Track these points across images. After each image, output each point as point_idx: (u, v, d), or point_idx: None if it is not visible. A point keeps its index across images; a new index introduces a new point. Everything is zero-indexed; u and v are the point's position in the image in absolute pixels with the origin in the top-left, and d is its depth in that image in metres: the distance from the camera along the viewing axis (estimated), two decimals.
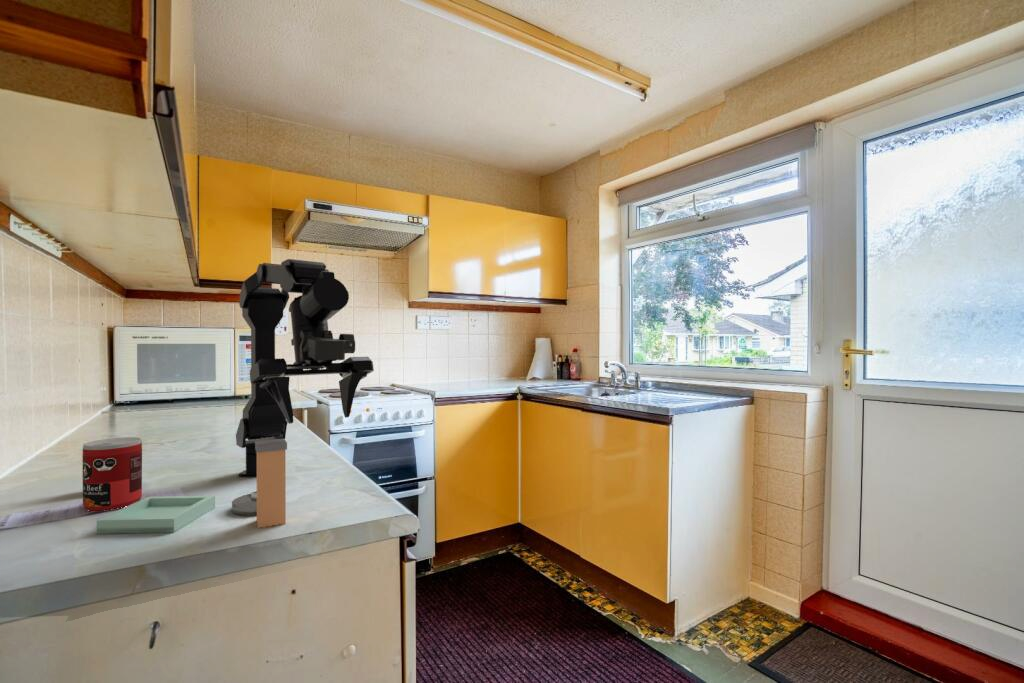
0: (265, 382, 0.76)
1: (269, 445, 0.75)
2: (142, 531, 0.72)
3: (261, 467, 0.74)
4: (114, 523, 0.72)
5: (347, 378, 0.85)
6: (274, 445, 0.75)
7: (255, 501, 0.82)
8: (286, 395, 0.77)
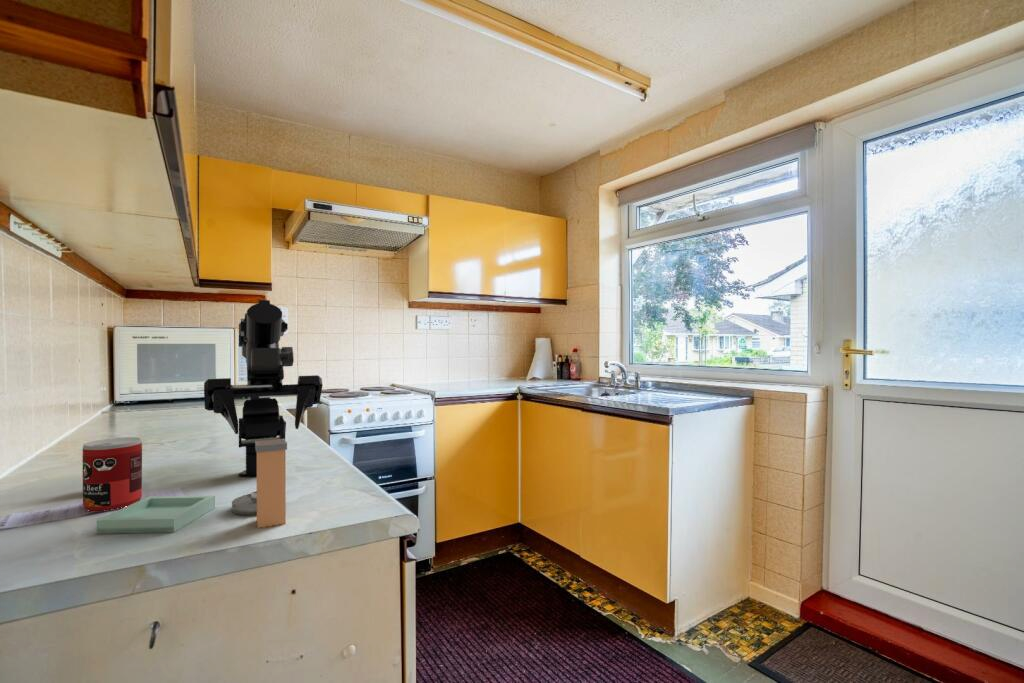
0: (213, 399, 0.83)
1: (269, 445, 0.75)
2: (142, 531, 0.72)
3: (261, 467, 0.74)
4: (114, 523, 0.72)
5: (297, 395, 0.89)
6: (274, 445, 0.75)
7: (255, 501, 0.82)
8: (231, 407, 0.83)
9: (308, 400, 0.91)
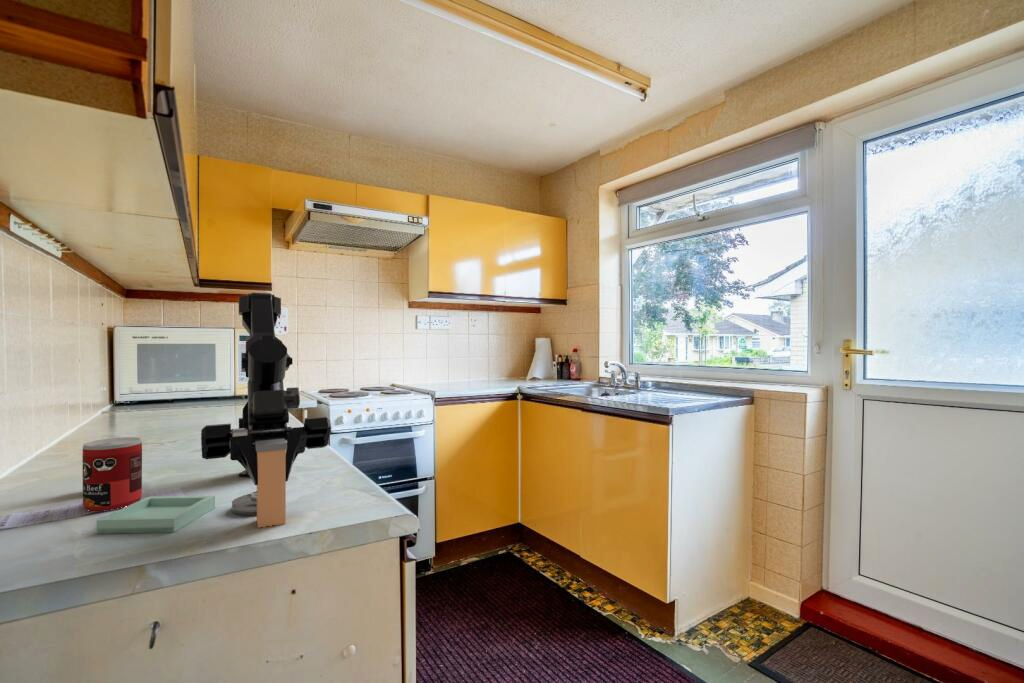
0: (230, 447, 0.76)
1: (269, 445, 0.75)
2: (142, 531, 0.72)
3: (261, 467, 0.74)
4: (114, 523, 0.72)
5: None
6: (274, 445, 0.75)
7: (255, 501, 0.82)
8: (250, 455, 0.76)
9: (299, 446, 0.82)
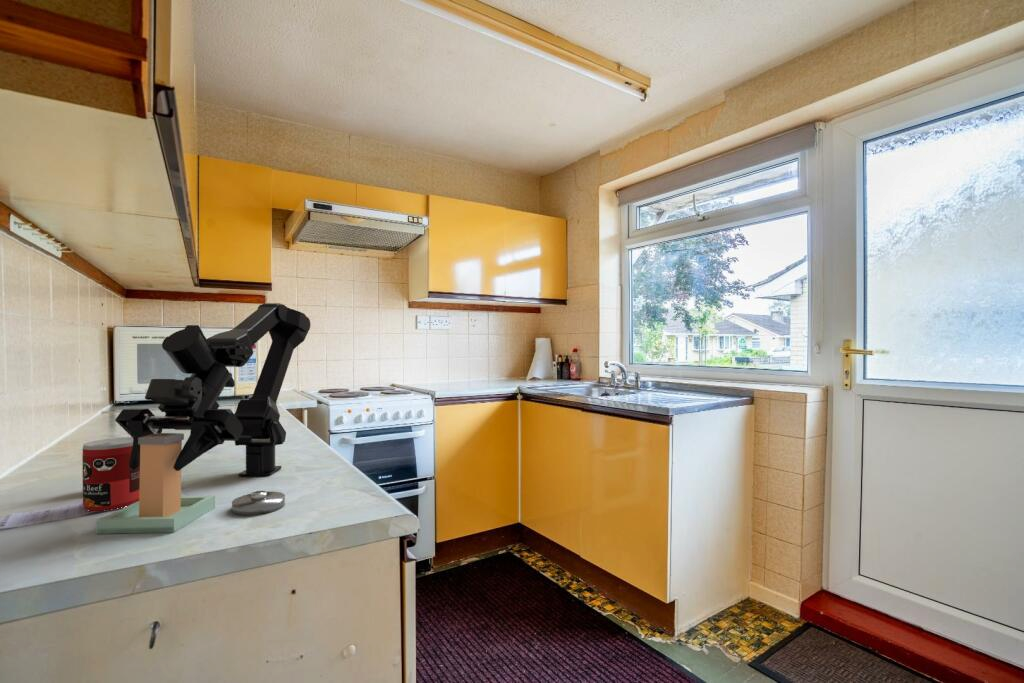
0: (132, 430, 0.81)
1: (149, 438, 0.76)
2: (142, 531, 0.72)
3: (143, 459, 0.76)
4: (114, 523, 0.72)
5: None
6: (153, 439, 0.76)
7: (255, 501, 0.82)
8: (137, 441, 0.79)
9: (212, 437, 0.81)
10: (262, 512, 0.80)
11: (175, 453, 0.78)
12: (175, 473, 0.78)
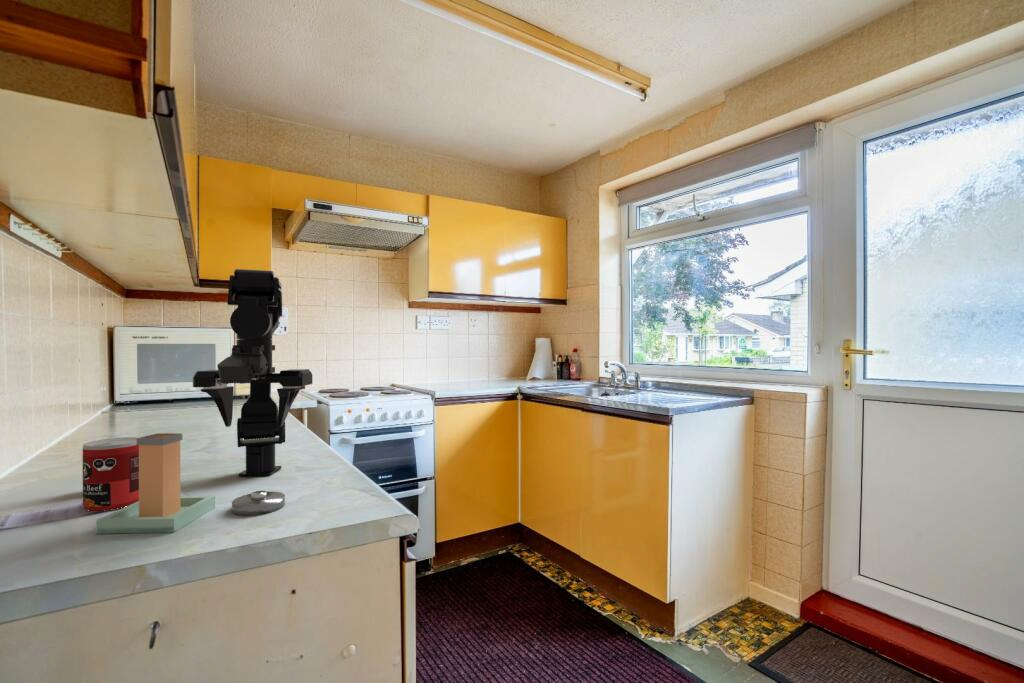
0: None
1: (148, 439, 0.76)
2: (142, 531, 0.72)
3: (142, 460, 0.76)
4: (114, 523, 0.72)
5: None
6: (152, 439, 0.76)
7: (255, 501, 0.82)
8: (220, 403, 0.87)
9: None
10: (262, 512, 0.80)
11: (174, 453, 0.78)
12: (174, 473, 0.78)
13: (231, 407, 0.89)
